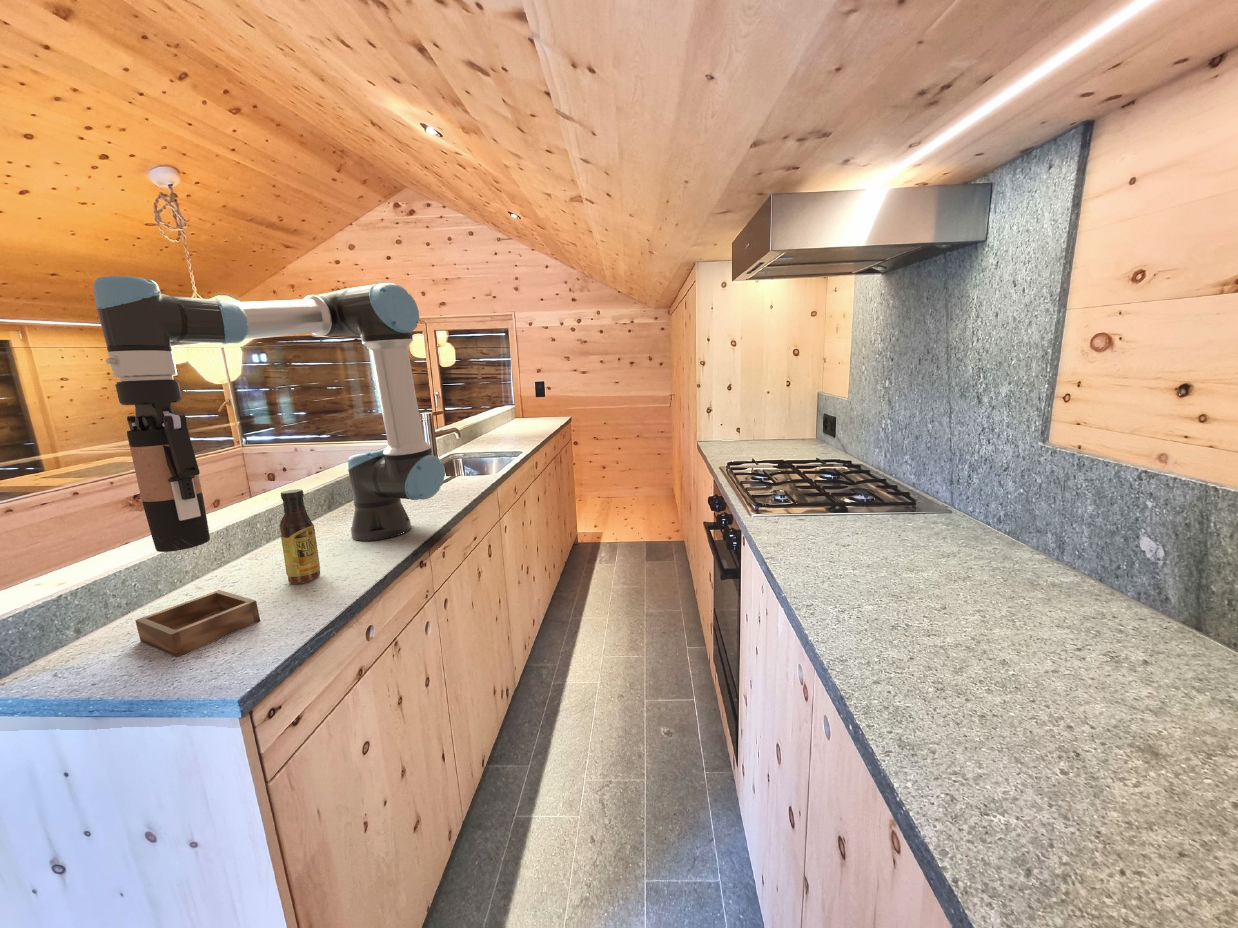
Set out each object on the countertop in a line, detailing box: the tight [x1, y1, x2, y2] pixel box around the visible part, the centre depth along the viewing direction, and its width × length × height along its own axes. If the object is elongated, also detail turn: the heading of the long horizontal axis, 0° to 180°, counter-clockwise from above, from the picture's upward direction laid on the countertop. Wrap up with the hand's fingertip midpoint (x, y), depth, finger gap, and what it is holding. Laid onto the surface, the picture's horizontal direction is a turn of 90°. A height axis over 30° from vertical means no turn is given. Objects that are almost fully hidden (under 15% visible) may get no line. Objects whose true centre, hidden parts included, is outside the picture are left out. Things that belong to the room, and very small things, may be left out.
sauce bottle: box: [279, 488, 321, 585], centre depth 107 cm, size 7×6×20 cm
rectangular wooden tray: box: [134, 589, 261, 658], centre depth 88 cm, size 12×12×4 cm
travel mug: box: [126, 426, 211, 553], centre depth 83 cm, size 8×8×20 cm
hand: (177, 515), depth 84 cm, fingers closed on travel mug, 8 cm apart
